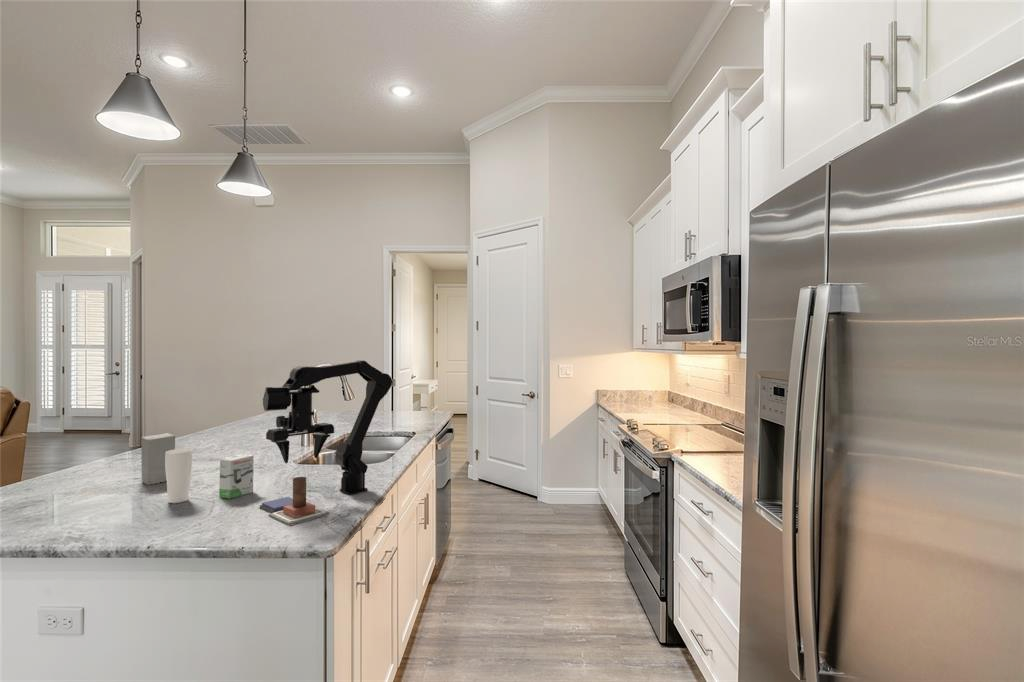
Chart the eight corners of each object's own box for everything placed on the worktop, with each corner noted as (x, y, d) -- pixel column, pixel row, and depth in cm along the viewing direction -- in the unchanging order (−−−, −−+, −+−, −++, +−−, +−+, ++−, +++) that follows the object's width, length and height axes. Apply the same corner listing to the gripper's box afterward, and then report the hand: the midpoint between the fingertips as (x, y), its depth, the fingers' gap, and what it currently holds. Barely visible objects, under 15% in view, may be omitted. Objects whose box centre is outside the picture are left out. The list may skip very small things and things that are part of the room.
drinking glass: (196, 499, 153) (197, 449, 153) (173, 505, 146) (174, 454, 147) (182, 496, 155) (183, 447, 156) (159, 502, 149) (160, 451, 149)
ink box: (230, 499, 153) (230, 460, 153) (218, 497, 155) (218, 458, 155) (254, 491, 161) (254, 454, 161) (242, 490, 163) (242, 453, 163)
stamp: (304, 508, 143) (304, 474, 143) (315, 512, 139) (315, 478, 139) (283, 513, 138) (283, 478, 138) (294, 518, 134) (294, 482, 135)
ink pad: (288, 501, 151) (288, 496, 151) (302, 506, 146) (302, 501, 146) (259, 508, 145) (259, 502, 145) (273, 514, 139) (273, 508, 139)
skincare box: (168, 477, 178) (168, 432, 178) (176, 480, 174) (177, 434, 174) (139, 482, 171) (140, 435, 171) (147, 486, 167) (148, 438, 167)
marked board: (308, 506, 147) (308, 503, 147) (329, 514, 139) (329, 511, 139) (268, 516, 138) (268, 513, 138) (288, 525, 131) (288, 522, 131)
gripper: (316, 403, 165) (316, 451, 164) (257, 409, 150) (257, 461, 150) (335, 406, 157) (335, 456, 157) (275, 412, 143) (274, 467, 143)
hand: (301, 460), depth 152 cm, fingers open, 9 cm apart
